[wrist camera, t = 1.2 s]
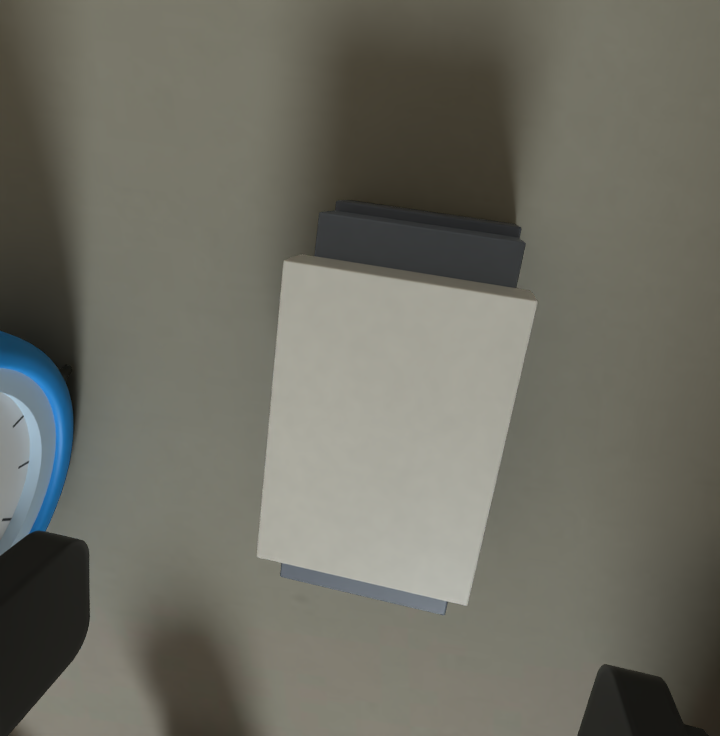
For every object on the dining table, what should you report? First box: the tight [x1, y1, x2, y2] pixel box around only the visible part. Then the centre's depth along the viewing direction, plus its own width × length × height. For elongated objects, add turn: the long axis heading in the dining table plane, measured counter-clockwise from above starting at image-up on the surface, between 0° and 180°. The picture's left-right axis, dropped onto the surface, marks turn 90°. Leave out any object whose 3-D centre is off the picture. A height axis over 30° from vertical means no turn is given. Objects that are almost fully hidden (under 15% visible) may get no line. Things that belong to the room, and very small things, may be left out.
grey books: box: [280, 200, 526, 615], centre depth 19 cm, size 12×6×4 cm, turn 172°
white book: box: [257, 254, 538, 606], centre depth 16 cm, size 9×6×2 cm
